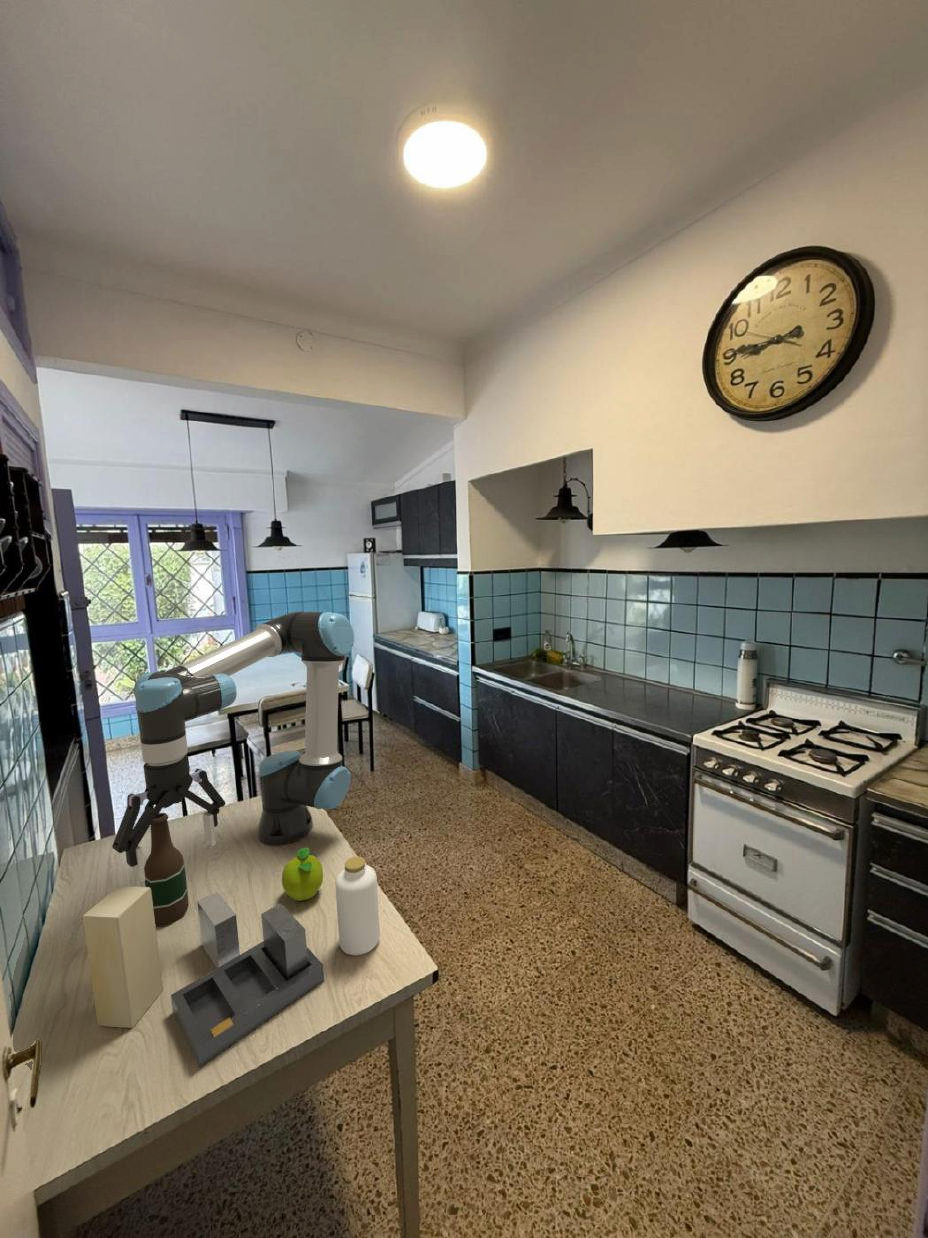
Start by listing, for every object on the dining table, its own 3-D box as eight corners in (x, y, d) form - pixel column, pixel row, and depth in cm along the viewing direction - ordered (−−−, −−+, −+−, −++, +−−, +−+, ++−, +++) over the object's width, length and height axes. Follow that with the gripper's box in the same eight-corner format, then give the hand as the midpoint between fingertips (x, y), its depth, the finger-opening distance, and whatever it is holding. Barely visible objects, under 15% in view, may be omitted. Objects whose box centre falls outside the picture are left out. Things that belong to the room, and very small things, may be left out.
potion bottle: (388, 941, 103) (383, 861, 101) (353, 965, 97) (348, 881, 95) (365, 921, 109) (360, 845, 107) (331, 943, 103) (326, 863, 101)
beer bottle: (171, 929, 108) (159, 826, 105) (141, 925, 110) (128, 823, 107) (197, 904, 116) (186, 808, 113) (168, 900, 117) (157, 805, 114)
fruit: (323, 879, 124) (320, 842, 122) (324, 904, 115) (322, 864, 114) (284, 887, 121) (281, 849, 120) (282, 913, 112) (279, 873, 111)
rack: (289, 941, 104) (285, 893, 102) (324, 981, 94) (320, 928, 93) (172, 1012, 88) (166, 957, 87) (199, 1068, 79) (192, 1007, 77)
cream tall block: (128, 986, 94) (114, 885, 91) (164, 989, 93) (152, 886, 91) (93, 1026, 86) (77, 916, 83) (132, 1029, 85) (117, 918, 83)
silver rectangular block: (221, 934, 107) (217, 891, 105) (240, 960, 100) (236, 914, 98) (202, 944, 104) (197, 901, 102) (219, 972, 97) (214, 925, 96)
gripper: (217, 734, 108) (226, 825, 111) (81, 779, 88) (96, 889, 91) (237, 741, 104) (245, 835, 107) (99, 789, 84) (114, 904, 87)
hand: (177, 860), depth 99 cm, fingers open, 13 cm apart
